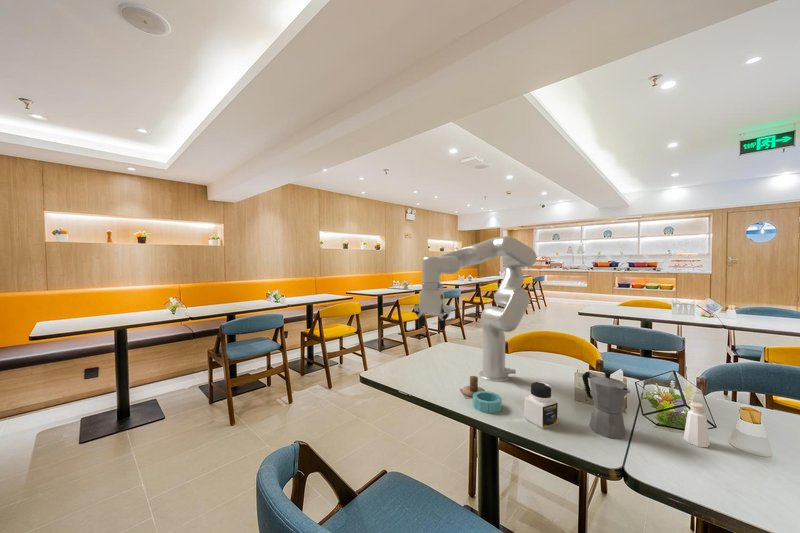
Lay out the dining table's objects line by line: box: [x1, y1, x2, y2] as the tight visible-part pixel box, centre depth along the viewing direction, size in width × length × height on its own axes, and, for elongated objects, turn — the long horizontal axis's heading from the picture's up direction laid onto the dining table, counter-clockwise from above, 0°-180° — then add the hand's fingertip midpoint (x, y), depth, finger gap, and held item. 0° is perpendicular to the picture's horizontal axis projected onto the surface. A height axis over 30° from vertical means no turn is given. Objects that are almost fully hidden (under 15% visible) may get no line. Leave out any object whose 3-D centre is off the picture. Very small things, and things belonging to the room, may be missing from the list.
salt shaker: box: [683, 401, 711, 448], centre depth 87 cm, size 5×5×11 cm
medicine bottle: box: [523, 381, 559, 429], centre depth 98 cm, size 7×7×12 cm
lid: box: [462, 375, 486, 398], centre depth 118 cm, size 8×8×6 cm
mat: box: [459, 388, 473, 400], centre depth 118 cm, size 9×9×1 cm
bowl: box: [472, 390, 503, 414], centre depth 107 cm, size 10×10×4 cm
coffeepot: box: [581, 371, 631, 440], centre depth 94 cm, size 15×9×18 cm, turn 16°
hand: (431, 328), depth 125 cm, fingers open, 9 cm apart
